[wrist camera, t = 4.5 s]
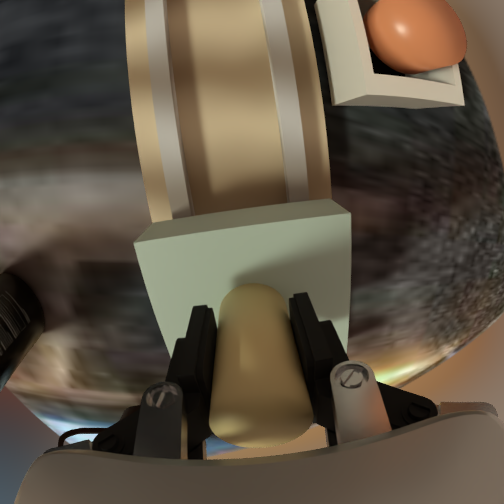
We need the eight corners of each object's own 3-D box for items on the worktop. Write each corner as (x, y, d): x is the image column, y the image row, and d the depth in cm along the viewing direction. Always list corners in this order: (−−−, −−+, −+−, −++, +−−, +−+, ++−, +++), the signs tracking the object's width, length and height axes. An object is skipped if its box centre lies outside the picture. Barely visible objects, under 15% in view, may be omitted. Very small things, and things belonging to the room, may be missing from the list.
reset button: (354, -2, 9) (378, -27, 6) (422, 12, 9) (453, -4, 6) (371, 70, 10) (402, 56, 8) (438, 79, 10) (474, 73, 8)
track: (132, -5, 11) (110, -31, 7) (289, -29, 11) (300, -61, 7) (199, 362, 21) (193, 400, 17) (327, 346, 21) (340, 382, 17)
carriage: (153, 222, 14) (60, 326, 6) (329, 198, 14) (436, 280, 6) (187, 346, 17) (163, 475, 9) (331, 327, 17) (382, 450, 9)
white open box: (313, 5, 12) (337, -33, 7) (397, 15, 12) (437, -9, 7) (331, 105, 15) (366, 94, 10) (415, 108, 15) (464, 105, 10)
